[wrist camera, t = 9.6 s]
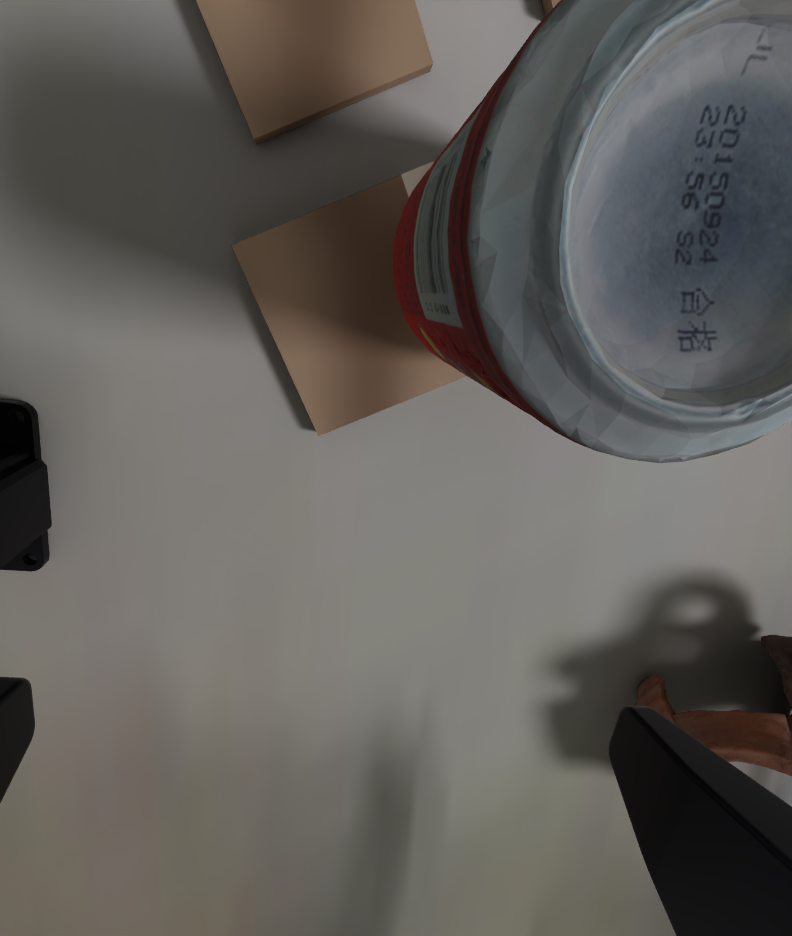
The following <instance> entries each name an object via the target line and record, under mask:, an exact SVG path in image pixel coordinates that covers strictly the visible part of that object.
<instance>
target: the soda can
mask: <svg viewBox="0 0 792 936" xmlns="http://www.w3.org/2000/svg"><path fill="white" fill-rule="evenodd" d="M392 269H393V276H394V283H395V291H396V295H397V298H398V301H399V303H400V306H401V308H402V311H403V313H404V316H405V319H406V321H407V323H408V325H409V326H410V328H411V329H412V331H413V333H414V334H415V336H416V337H417V338H418V339H419V340H420V341H421V342H422V343H423V344H424V346H425V347H426V348H427V349H428V350H429V351H430V352H431V353H433V354H434V355H435V356H437V357H438V358H440V359H441V360H442V361H444V362H445V363H447V364H449V365H451V366H452V367H454V368H455V369H457V370H458V371H460V372H461V373H463V374H464V375H466V376H468V377H469V378H471V379H473V380H475V381H476V382H478V383H480V384H481V385H483V386H485V387H486V388H488V389H489V390H491V391H493V392H494V393H496V394H497V395H499V396H500V397H502V398H504V399H505V400H507V401H509V402H510V403H512V404H513V405H515V406H517V407H518V408H520V409H521V410H523V411H524V412H526V413H528V414H530V415H532V416H533V417H534V418H536V419H537V420H539V421H540V422H541V423H543V424H544V425H546V426H548V427H549V428H551V429H552V430H553V431H555V432H557V433H558V434H560V435H562V436H564V437H566V438H568V439H570V440H571V441H573V442H576V443H578V444H581V445H583V446H586V447H588V448H591V449H593V450H596V451H599V452H603V453H607V454H611V455H614V456H618V457H622V458H626V459H631V460H639V461H648V462H656V463H666V462H683V461H688V460H692V459H697V458H701V457H706V456H710V455H715V454H718V453H721V452H724V451H727V450H730V449H734V448H737V447H740V446H743V445H746V444H749V443H751V442H753V441H754V440H756V439H758V438H760V437H762V436H764V435H765V434H768V433H770V432H772V431H774V430H775V429H777V428H779V427H780V426H782V425H784V424H786V423H787V422H789V421H791V420H792V0H561V1H560V2H558V3H557V5H556V6H555V7H554V8H553V9H552V10H551V11H550V12H549V13H548V15H547V16H546V17H545V18H544V19H543V20H542V21H541V22H540V23H539V25H538V26H537V27H536V28H535V29H534V31H533V32H532V33H531V35H530V36H529V38H528V39H527V40H526V42H525V43H524V44H523V46H522V47H521V49H520V50H519V51H518V53H517V54H516V56H515V57H514V58H513V60H512V61H511V63H510V64H509V66H508V67H507V68H506V70H505V71H504V72H503V73H502V74H501V76H500V77H499V78H498V79H497V81H496V82H495V83H494V85H493V86H492V87H491V89H490V90H489V92H488V93H487V95H486V96H485V97H484V99H483V100H482V102H481V103H480V104H479V105H478V106H477V107H476V109H475V110H474V111H473V113H472V114H471V115H470V116H469V118H468V119H467V120H466V122H465V123H464V124H463V125H462V127H461V128H460V130H459V131H458V132H457V133H456V135H455V136H454V137H453V139H452V140H451V141H450V143H449V144H448V145H447V147H446V148H445V149H444V151H443V152H442V153H441V154H440V156H439V157H438V158H437V159H436V160H435V162H434V163H433V164H432V166H431V167H430V168H429V170H428V171H427V172H426V173H425V175H424V176H423V177H422V179H421V180H420V181H419V183H418V184H417V186H416V187H415V188H414V190H413V191H412V193H411V195H410V197H409V199H408V201H407V203H406V204H405V206H404V208H403V211H402V214H401V217H400V220H399V223H398V227H397V231H396V235H395V239H394V244H393V267H392Z"/></svg>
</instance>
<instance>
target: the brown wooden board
mask: <svg viewBox="0 0 792 936" xmlns="http://www.w3.org/2000/svg"><path fill="white" fill-rule="evenodd" d="M434 162H435V161H432V162H430V163H427V164H425V165H423V166H420V167H418V168H415V169H413V170H410V171H408V172H406V173H403V174H401V175H398V176H396V177H394V178H391V179H389V180H386V181H384V182H382V183H379V184H377V185H374V186H372V187H370V188H367V189H365V190H362V191H360V192H358V193H355V194H353V195H350V196H348V197H345V198H343V199H341V200H338V201H336V202H333V203H331V204H329V205H326V206H324V207H321V208H319V209H317V210H314V211H312V212H309V213H307V214H305V215H302V216H300V217H297V218H295V219H293V220H290V221H288V222H285V223H283V224H280V225H278V226H276V227H273V228H271V229H268V230H266V231H264V232H261V233H259V234H256V235H254V236H252V237H249V238H247V239H244V240H242V241H240V242H237V243H235V244H232V245H231V246H232V249H233V251H234V253H235V255H236V257H237V260H238V262H239V264H240V266H241V268H242V270H243V273H244V275H245V277H246V279H247V281H248V284H249V286H250V288H251V290H252V292H253V294H254V297H255V299H256V301H257V303H258V305H259V308H260V310H261V312H262V314H263V316H264V318H265V321H266V323H267V325H268V327H269V329H270V332H271V334H272V336H273V338H274V340H275V342H276V345H277V347H278V349H279V351H280V353H281V356H282V358H283V360H284V362H285V364H286V366H287V369H288V371H289V373H290V375H291V377H292V380H293V382H294V384H295V386H296V388H297V390H298V393H299V395H300V397H301V399H302V401H303V404H304V406H305V408H306V410H307V412H308V414H309V417H310V419H311V421H312V423H313V425H314V428H315V430H316V432H317V434H318V436H320V435H322V434H325V433H327V432H330V431H332V430H335V429H337V428H339V427H342V426H344V425H347V424H349V423H352V422H354V421H357V420H359V419H362V418H364V417H367V416H369V415H371V414H374V413H376V412H379V411H381V410H384V409H386V408H389V407H391V406H394V405H396V404H398V403H401V402H403V401H406V400H408V399H411V398H413V397H416V396H418V395H421V394H423V393H426V392H428V391H430V390H433V389H435V388H438V387H440V386H443V385H445V384H448V383H450V382H453V381H455V380H457V379H460V378H462V377H465V376H466V375H464V374H463V373H461V372H460V371H458V370H457V369H455V368H454V367H452V366H451V365H449V364H447V363H445V362H444V361H442V360H441V359H440V358H438V357H437V356H435V355H434V354H433V353H431V352H430V351H429V350H428V349H427V348H426V347H425V346H424V344H423V343H422V342H421V341H420V340H419V339H418V338H417V337H416V336H415V334H414V333H413V331H412V329H411V328H410V326H409V325H408V323H407V321H406V319H405V316H404V313H403V311H402V308H401V306H400V303H399V301H398V298H397V295H396V291H395V283H394V276H393V269H392V267H393V244H394V239H395V235H396V231H397V227H398V223H399V220H400V217H401V214H402V211H403V208H404V206H405V204H406V203H407V201H408V199H409V197H410V195H411V193H412V191H413V190H414V188H415V187H416V186H417V184H418V183H419V181H420V180H421V179H422V177H423V176H424V175H425V173H426V172H427V171H428V170H429V168H430V167H431V166H432V164H433V163H434Z"/></svg>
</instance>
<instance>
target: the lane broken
mask: <svg viewBox="0 0 792 936" xmlns="http://www.w3.org/2000/svg"><path fill="white" fill-rule="evenodd" d="M560 1H561V0H542V4H543V8H544V13H545V17H546V16H547V15H548V13H549V12H550V11H551V10H552V9H553V8H554V7H555V6H556V5H557V3H558V2H560ZM196 2H197V4H198V6H199V9H200V11H201V14H202V16H203V18H204V21H205V23H206V26H207V28H208V30H209V33H210V35H211V38H212V40H213V42H214V45H215V47H216V50H217V52H218V54H219V57H220V59H221V62H222V64H223V66H224V69H225V71H226V74H227V76H228V78H229V81H230V83H231V86H232V88H233V91H234V93H235V95H236V98H237V100H238V103H239V105H240V107H241V110H242V112H243V115H244V117H245V119H246V122H247V124H248V127H249V129H250V131H251V134H252V136H253V139H254V141H255V142H256V144H258V143H260V142H263V141H265V140H267V139H270V138H272V137H275V136H277V135H279V134H282V133H284V132H287V131H289V130H291V129H294V128H296V127H299V126H301V125H303V124H306V123H308V122H310V121H313V120H315V119H318V118H320V117H322V116H325V115H327V114H330V113H332V112H334V111H337V110H339V109H341V108H344V107H346V106H349V105H351V104H353V103H356V102H358V101H361V100H363V99H365V98H368V97H370V96H373V95H375V94H377V93H380V92H382V91H384V90H387V89H389V88H392V87H394V86H396V85H399V84H401V83H404V82H406V81H408V80H411V79H413V78H416V77H418V76H420V75H423V74H425V73H427V72H430V70H431V68H432V65H433V62H432V58H431V55H430V51H429V48H428V45H427V41H426V38H425V35H424V31H423V28H422V24H421V21H420V18H419V14H418V11H417V8H416V4H415V1H414V0H196Z"/></svg>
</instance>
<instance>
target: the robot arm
mask: <svg viewBox="0 0 792 936" xmlns="http://www.w3.org/2000/svg"><path fill="white" fill-rule="evenodd" d="M15 411H19V412H21V413H22V414H23V416H24V422H21V421H19V420H18V419H17V418H16V417H15ZM51 525H52V522H51V510H50V497H49V485H48V472H47V465H46V464H45V463H44V462H43V461H42V459H41V447H40V435H39V423H38V415H37V412H36V410H35V409H34V407H33V406H32V405H30V404H29V403H27V402H23V401H16V400H5V399H0V570H17V571H36V570H38V569H40V568H41V567H43V566H44V565H45V564H46V563H47V561H48V560H49V544H48V532H47V530H48V529H49V528H50V527H51ZM28 553H30V554H33V555H34V556H35V557H36V558H37V560H32V559H31V558H30V557H29V555H28ZM34 729H35V717H34V708H33V698H32V688H31V684H30V682H29V681H28V680H27V679H25V678H14V677H0V803H1V801H2V799H3V797H4V795H5V793H6V791H7V789H8V787H9V785H10V783H11V781H12V779H13V777H14V775H15V773H16V771H17V769H18V767H19V765H20V763H21V761H22V759H23V756H24V754H25V752H26V750H27V748H28V746H29V744H30V742H31V740H32V737H33V734H34ZM609 756H610V761H611V764H612V767H613V770H614V773H615V776H616V779H617V782H618V785H619V788H620V791H621V794H622V797H623V800H624V803H625V806H626V809H627V812H628V815H629V817H630V820H631V823H632V826H633V829H634V832H635V835H636V838H637V841H638V844H639V847H640V850H641V853H642V855H643V858H644V861H645V863H646V866H647V868H648V871H649V873H650V876H651V878H652V880H653V883H654V885H655V887H656V890H657V892H658V894H659V897H660V899H661V901H662V904H663V906H664V908H665V910H666V913H667V915H668V917H669V920H670V922H671V924H672V927H673V929H674V931H675V933H676V936H792V807H791V806H790V805H789V804H787V803H786V802H784V801H783V800H781V799H780V798H779V797H777V796H776V795H774V794H773V793H771V792H770V791H769V790H767V789H766V788H764V787H763V786H762V785H760V784H759V783H757V782H756V781H754V780H753V779H752V778H750V777H749V776H747V775H746V774H745V773H743V772H742V771H740V770H739V769H737V768H736V767H735V766H733V765H732V764H730V763H729V762H727V761H726V760H725V759H723V758H722V757H720V756H719V755H718V754H716V753H715V752H713V751H712V750H710V749H709V748H708V747H706V746H705V745H703V744H702V743H701V742H699V741H698V740H696V739H695V738H693V737H692V736H691V735H689V734H688V733H686V732H685V731H683V730H682V729H681V728H679V727H678V726H676V725H675V724H674V723H672V722H671V721H669V720H668V719H666V718H665V717H664V716H662V715H661V714H659V713H658V712H657V711H655V710H654V709H652V708H650V707H647V706H634V705H627V706H624V707H623V708H622V709H621V710H620V713H619V716H618V719H617V722H616V725H615V728H614V731H613V734H612V737H611V740H610V744H609Z"/></svg>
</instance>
